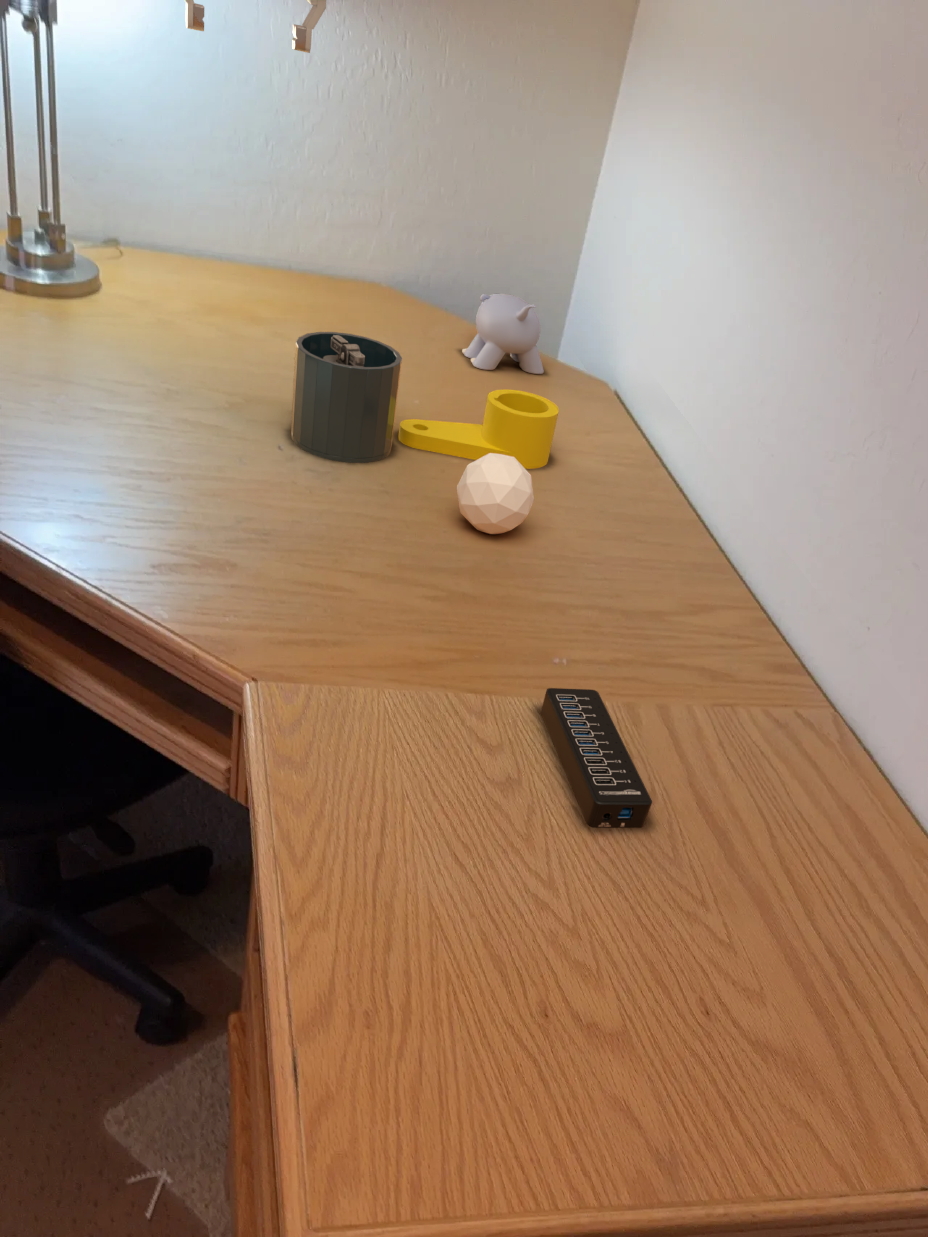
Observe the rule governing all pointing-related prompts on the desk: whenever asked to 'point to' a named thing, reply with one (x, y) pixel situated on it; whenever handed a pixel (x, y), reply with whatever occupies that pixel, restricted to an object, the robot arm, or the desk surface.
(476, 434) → the crank
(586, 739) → the multiport hub
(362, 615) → the desk surface
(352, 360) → the lighter
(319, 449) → the pen cup
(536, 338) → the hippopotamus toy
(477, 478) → the geometric ball
